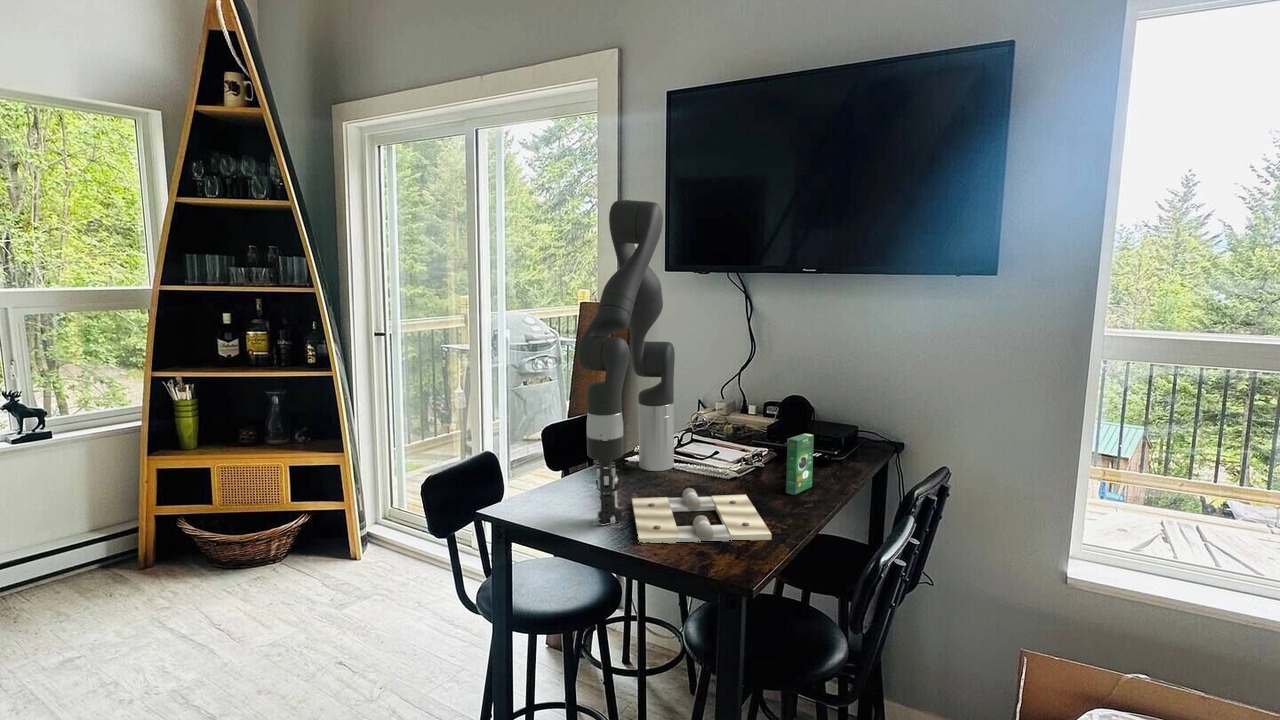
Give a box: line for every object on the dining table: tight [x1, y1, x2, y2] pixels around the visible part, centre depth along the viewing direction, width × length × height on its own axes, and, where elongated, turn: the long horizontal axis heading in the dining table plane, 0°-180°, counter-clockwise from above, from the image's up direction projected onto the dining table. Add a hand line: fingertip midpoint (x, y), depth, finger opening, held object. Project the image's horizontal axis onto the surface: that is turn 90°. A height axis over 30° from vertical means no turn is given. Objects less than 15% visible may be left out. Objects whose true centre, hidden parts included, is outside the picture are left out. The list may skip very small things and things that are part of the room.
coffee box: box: [785, 432, 815, 496], centre depth 166 cm, size 8×3×13 cm, turn 137°
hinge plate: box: [631, 487, 772, 544], centre depth 148 cm, size 23×26×3 cm
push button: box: [592, 474, 623, 526], centre depth 146 cm, size 7×5×10 cm
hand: (606, 512), depth 147 cm, fingers closed on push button, 4 cm apart
